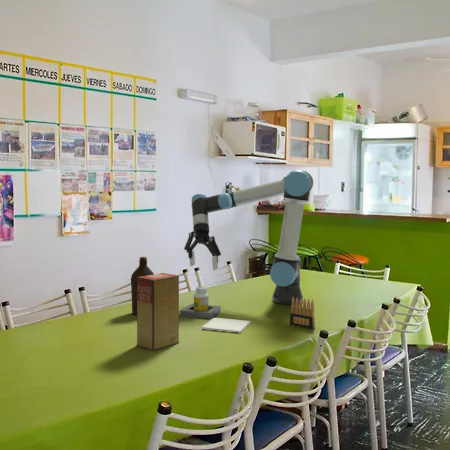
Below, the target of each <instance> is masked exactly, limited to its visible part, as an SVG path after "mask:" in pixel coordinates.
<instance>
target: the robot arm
mask: <svg viewBox="0 0 450 450" xmlns="http://www.w3.org/2000/svg"><path fill="white" fill-rule="evenodd" d="M313 186H314V178H313V176H312V175H311V174H310V173H309V172H308V171H306V170H301V169H294V170H292V171H290V172H289V173H288V174H286V176H284V177H282V179H279V180H274V181H272V182H267V183H264V184H260V185H255V186H252V187H248V188H244V189H243V188H242V189H240V190H235V191H232V192H225V193H223V192H222V193H219V194H214V195H211V196H207V195H206V194H204V193H196V194H193V196H192V197H191V213H192V214H191V215H192V225H193V227H192V228H193V230H192V231H191V232H189V233H188V237H187V240H186V242H185V245H184V247H183V250H185V251H186V253H187V254H188V259H189V266H190V267H193V266H194V265H196V260H195V259H196V257H195V250H194V249H195V248H196V247H197V245H198V244H199V245H204V246H205V247H206V248H207V250H208V251H209V252H210V254H211V255H212V257H211V260H212V261H211V262H212V271H216V270H219V265H218V264H219V257H220V256H222V253H221V251H220V248H219V246H218V245H217V244H218V243H217V242H216V239H215V236H214V235H212V236H210V221H209V213H212V212H219V211H223V210H229V209H233V208H237V207H241V206H244V205H248V204H249V205H250V204H253V203H257V202H262V201H265V200H270V199H274V198H278V197H283V199H284V201H285V205H284V213H283V219H282V225H281V231H280V237H279V238H280V239H279V243H278V249H277V252H276V253H275V254H274V256H273V261H272V266H271V267H270V270H269V276H270V277H269V278H270V280H271V281H272V282H273V283H274V284H275V288H274V290H273V293H272V298H271V300H272V302H273V303H277V304H281V305H292V298H293V297H294V300H295V304H296V298H297V297H298V304H299V302H300V298H302V303H303V301H304V295H303V292H302V289H301V263H302V260H301V257H300V255H297V253H298V252H297V251H298V245H299V240H300V234H301V228H302V223H303V222H302V221H303V215H304V209H305V205H306V204H307V203H308V202H309V198H310V192H311V190H313ZM194 239H195V240H194ZM193 240H194V241H193Z"/></svg>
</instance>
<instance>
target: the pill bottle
mask: <svg viewBox="0 0 450 450" xmlns="http://www.w3.org/2000/svg"><path fill="white" fill-rule="evenodd" d="M195 291H196V293H194V295H193V304H194V310H198V311H208V305H209V294H208V292H207V287H205V286H197V287H196V288H195Z"/></svg>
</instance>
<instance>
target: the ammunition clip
mask: <svg viewBox="0 0 450 450" xmlns="http://www.w3.org/2000/svg"><path fill="white" fill-rule="evenodd" d="M314 304H315V303H314V299H311V302H310V299H309V298H308V299H307V300H306V298H303V302H302V298H300V302H299V304H298V297H297V298H296V304H295V300H294V297H293V298H292V304H290V305H291V306H290V313H289V315H290V316H289V326H292V325H295V326H294V327H297V326H300V327H299V328H302V327H303V329H308V330H315V327H316V326H315V308H314V307H315V305H314Z"/></svg>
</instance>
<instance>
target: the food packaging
mask: <svg viewBox="0 0 450 450" xmlns="http://www.w3.org/2000/svg"><path fill="white" fill-rule="evenodd" d="M179 279H180V276H179V274H178V275H177V274H170V273H166V272H160V273H156V274H155V273H154V275H148V276H142V277H137V315H136V325H137V326H136V347H140V348H143V349H147V350H150V351H156V349H157V350H160V349H164V348H166V346H167V347H169V345H170V346H173V345H177V344H179V343H180V337H179V336H180V335H179V334H180V333H179V331H180V330H179V329H180V322H179V321H180V319H179V318H180V314H179V313H180V311H179V310H180V309H179V307H180V306H179V305H180V301H179V300H180V299H179V298H180V297H179V296H180V295H179V294H180V285H179V284H180V280H179ZM172 344H173V345H172ZM163 347H164V348H163Z"/></svg>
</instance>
